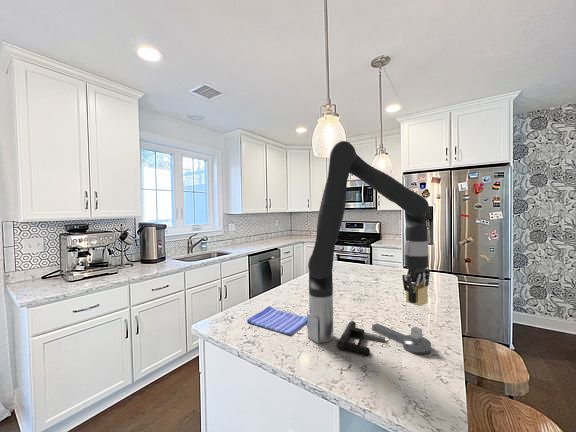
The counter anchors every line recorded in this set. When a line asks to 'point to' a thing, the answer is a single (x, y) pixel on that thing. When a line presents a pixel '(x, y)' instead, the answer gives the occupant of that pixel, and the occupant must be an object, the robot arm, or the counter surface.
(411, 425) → the counter surface
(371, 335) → the door handle
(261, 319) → the dish towel
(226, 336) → the counter surface
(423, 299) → the brass cube frame
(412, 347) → the ratchet
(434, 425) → the counter surface
